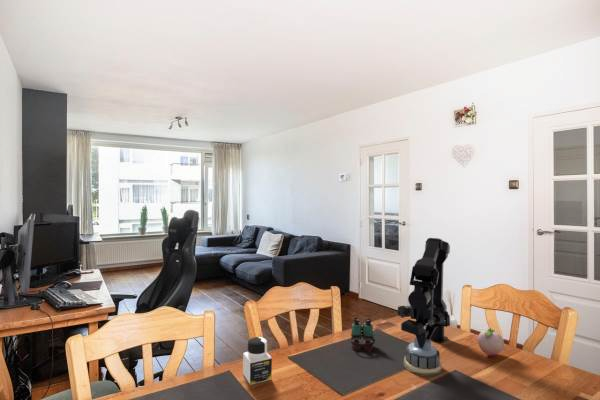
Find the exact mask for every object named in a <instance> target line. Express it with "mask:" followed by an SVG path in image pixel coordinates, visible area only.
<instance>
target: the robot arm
mask: <svg viewBox="0 0 600 400" xmlns="http://www.w3.org/2000/svg"><path fill="white" fill-rule="evenodd" d="M450 248H451V246H450V244H449V242H447V241H446V240H445V241H444V240H443V239H442V238H437V237H429V238H428V237H427V239H426V240H425V246H424V252H423V254H422V257H421V258H420V259H418V260H416V261H415V263H414V265H413V266H412V270H411V274H410V281H409V286H414V287H413V288H414V289H413V290H412V291H411V292H410V293H409V295H408V298H407V301H408V305H399V306H397V312H396V313H397V315H398V316H399V317H400V318H401V319H403V318H407V317H408V318H410V319H407V320H404V321H403V322H401V323H400V330H401V331H403V332H406V333H407V334H408V333H409V334H411V335H414V336H415V337H416V338H417V341H418V345H419V347H420V348H423V346H424V344H425V341H426V339H427V340H430V341H433V342H437V343H443V342H444V341H446V340H448V336H445V328H447V327H450V326H451V320H450V318H451V317H450V316H451V315H450V314H449V311H447V310H448V309H447V308H448V307H447V304H446V302H445V301H444V299H443V292H444V263H445V262H446V260H447V258H448V257H449V255H450V251H451V249H450Z"/></svg>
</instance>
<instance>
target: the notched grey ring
mask: <svg viewBox="0 0 600 400" xmlns="http://www.w3.org/2000/svg"><path fill="white" fill-rule="evenodd" d="M408 348H409V345H406V347H405V349H406V350H405V355H404V357H403V366H404V368H405V370H407V371H408V372H410V373H412V374H414V375H417V376H421V377H436V376H438V375H439V376H440V374H441V373H442V362H441V361H440V360H441V357H440V355H441V354H440V351H439V350H438V349H437V354H436V355H435V356H433V357H421V356H417V355H415V354H413V353H411V352H410V351H409V349H408Z"/></svg>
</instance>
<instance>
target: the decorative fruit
mask: <svg viewBox="0 0 600 400" xmlns="http://www.w3.org/2000/svg"><path fill="white" fill-rule="evenodd" d="M477 339H478V340H477V344H478V346H479V349H480V350H481V351H482V352H483V353H485V354H486V355H487V356H495V355H498V354H499V353H501V352H502V351H503V349H504V347H505V342H504V339H503V337H502V336H501V334H499V333H498V332H496V331H495V330H494V329H492V328H491V327H489V328H487V329H485V330H482V331H480V333H479V334H478V338H477Z"/></svg>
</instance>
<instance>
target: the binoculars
mask: <svg viewBox="0 0 600 400" xmlns="http://www.w3.org/2000/svg"><path fill="white" fill-rule="evenodd" d="M371 322H372V318H370V317H369V318H366V319H365V322H360V319H359V318H358V317H353V323H352V325H351V332H350V337H351V338H350V344H351V349H352V350H353V351H356V352H359V351H360V350H361V348H363V349H364V351H366V352H371V351H373V349H374V347H373V346H374V344H375V342H376V339H375V337H374V327H373V324H372V323H371ZM362 339H363V341H364V343H360V341H361V340H362Z"/></svg>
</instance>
